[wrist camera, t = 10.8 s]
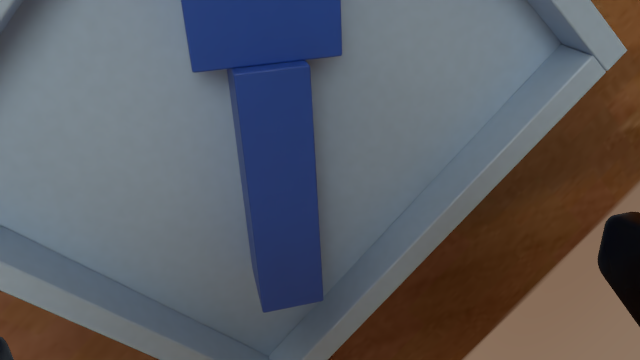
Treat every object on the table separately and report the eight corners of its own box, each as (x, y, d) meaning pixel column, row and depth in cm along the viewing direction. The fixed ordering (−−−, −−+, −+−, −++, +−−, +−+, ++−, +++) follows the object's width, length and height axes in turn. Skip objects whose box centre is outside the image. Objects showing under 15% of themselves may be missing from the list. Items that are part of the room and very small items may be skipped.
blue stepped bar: (334, 254, 18) (353, 295, 16) (224, 274, 17) (231, 320, 16) (317, -129, 13) (343, -135, 11) (161, -122, 12) (160, -127, 10)
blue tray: (244, -395, 11) (260, -452, 9) (580, 35, 18) (628, 50, 16) (-138, 172, 14) (-183, 212, 12) (267, 366, 20) (278, 412, 19)
